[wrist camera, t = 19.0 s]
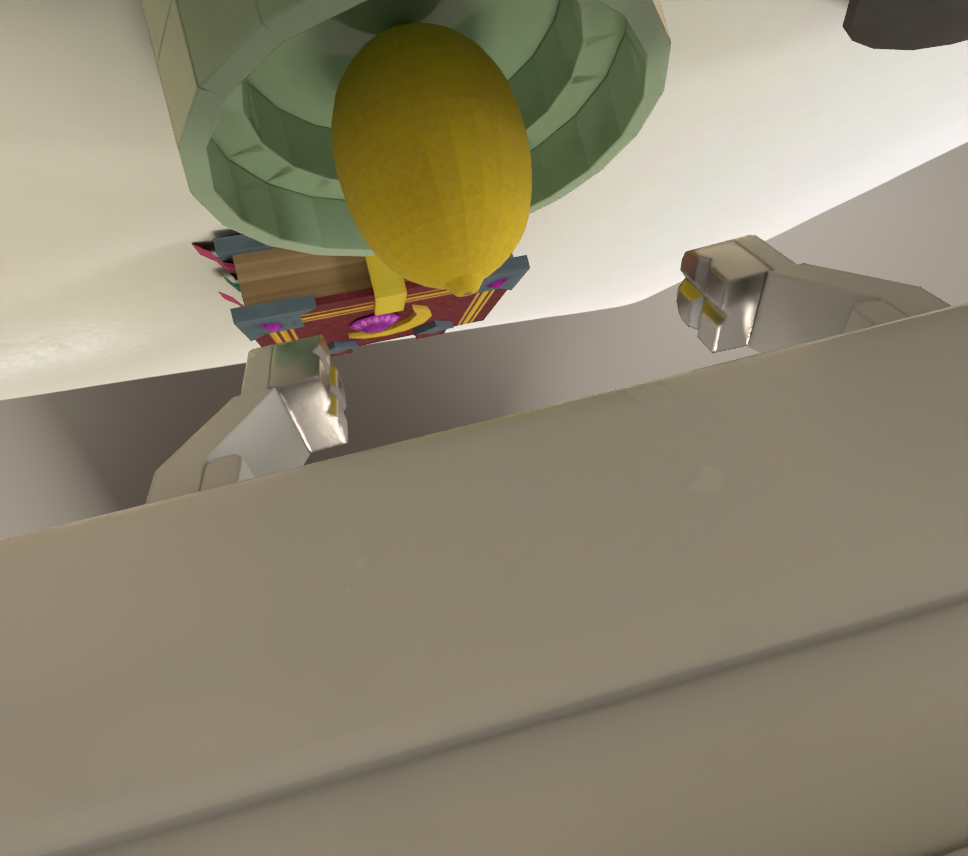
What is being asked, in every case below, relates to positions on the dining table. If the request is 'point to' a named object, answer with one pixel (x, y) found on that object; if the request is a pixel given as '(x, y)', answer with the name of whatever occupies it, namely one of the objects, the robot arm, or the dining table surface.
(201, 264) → the dining table surface
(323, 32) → the bowl
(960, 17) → the casserole
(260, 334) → the decorative book
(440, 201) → the lemon
